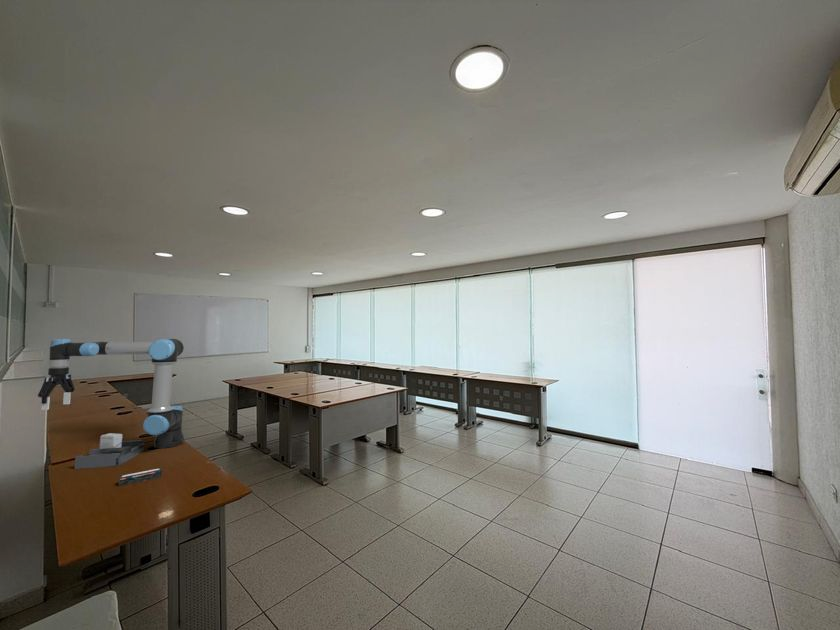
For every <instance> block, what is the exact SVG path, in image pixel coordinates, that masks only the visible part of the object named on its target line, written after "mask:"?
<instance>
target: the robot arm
mask: <svg viewBox="0 0 840 630" xmlns="http://www.w3.org/2000/svg"><path fill="white" fill-rule="evenodd" d="M184 349H185V347H184V344H183V342H182V341H181V340H179V339H177V338H161V339H158V340H155V341H95V342H94V341H92V342H91V341H90V342H72V340H71V339H70V338H52V339H51V341H50V346H49V362H48V367H49V368H48V374H47V375H48V376H50V377H45V378H44V381H43V383H42V386H41V388H40V390H39V392H38V394H37V397H38V398H41V402H40V403H41V411H48V410H50V403H51V401H50V400H51V397H50V395H51V393H52V392H53V391H54V389H55V388H56V387H57V386H59V385H60V387H61V388H62V389H63V391H64V392H63V400H62V402H63V403H62V405H70V404H71V396H72V393H73V392H74V391H75V386H74V383H73V380H72V375H71V374H69V373H70V372H69V371H70V358H71V357H94V356H97V355H102V356H104V355H149V356H150V358H151V363H152V365H154V368H153V371H154V372H153V385H152V395H151V407H150V408H149V409H148V410H147V414H146V415H147V417H146V418H145V420H143V423H142V429H143V431H144V432H145V433H147V435H150V436H155V439H154V442H153V447H154V448H155V449H168V448H173V447H177V446H180V445H182V444H184V443H185V436H184V433H183V430H182V429H183V428H182V427H183V412H184V410H183V408H184V407H183V405H182V406H181V405H171V400H172V399H171V398H172V387H173V386H172V385H173V384H172V383H173V371H174V365H175V364H176V363H177V361H178V357H179V356H180V355H181V354H182V353H183V352H184ZM181 439H182V440H183V441H184V442H183V441H182V440H181Z"/></svg>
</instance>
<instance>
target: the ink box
mask: <svg viewBox="0 0 840 630" xmlns="http://www.w3.org/2000/svg"><path fill="white" fill-rule="evenodd" d="M99 438H100V440H99V448H98V449H103V448H118V447H121V445H122V441H123V434H122V433H110V432H109V433H106V434H102V435H100V437H99Z"/></svg>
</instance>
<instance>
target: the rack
mask: <svg viewBox="0 0 840 630" xmlns="http://www.w3.org/2000/svg"><path fill="white" fill-rule="evenodd" d="M143 441H144V440H143V439H140V440H139V439H138V440H137V439H136V440H122V445H121V447H118V448H103V449H99V448H90V449H89V451H88V452H89V453H88V455H86V454H85V455H76V456H74V457H75V458H74V470H79V469H92V468H93V469H94V468H106V467H108V468H109V467H117V466H118V467H119V466H121V465H124V464H125V463H127V462H128V461H130V460H131V459H133V458H135V457H136V456H138V455H139V454H141V453H142V452H144V450H145V449H144V448H145V443H144V442H143Z"/></svg>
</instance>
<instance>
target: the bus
mask: <svg viewBox="0 0 840 630" xmlns="http://www.w3.org/2000/svg"><path fill="white" fill-rule="evenodd" d="M162 473H164V472H163V470H162V467H161V468H155V469H154V468H153V469H149V470H145V471H138V472H135V473H134V472H133V473H128V474H124V475H121V476H119V479H118V487H123V486H127V485H132V484H137V483H141V482H142V483H143V482H146V481H152V480H156V479H160V478H162V475H163V474H162Z"/></svg>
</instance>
